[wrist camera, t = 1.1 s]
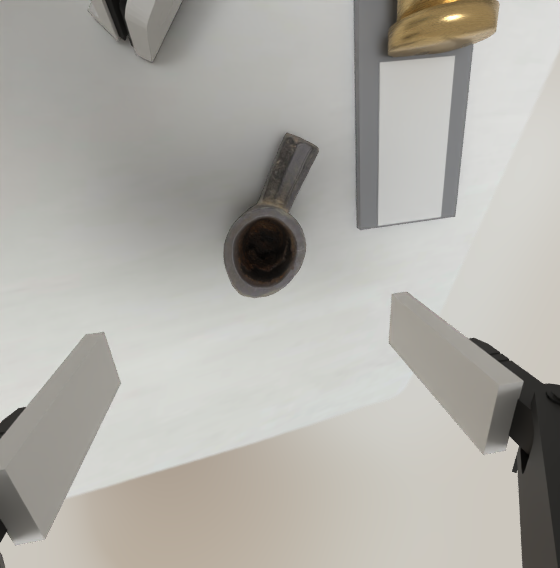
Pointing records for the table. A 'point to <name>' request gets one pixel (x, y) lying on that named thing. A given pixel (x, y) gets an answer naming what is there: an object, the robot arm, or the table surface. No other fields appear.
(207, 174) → the table surface
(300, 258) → the pipe
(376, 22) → the base
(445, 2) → the cylinder
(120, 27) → the grey napkin holder
